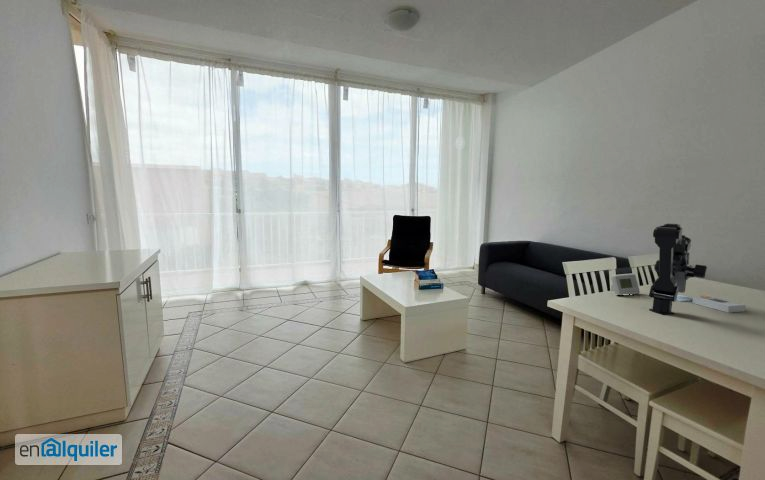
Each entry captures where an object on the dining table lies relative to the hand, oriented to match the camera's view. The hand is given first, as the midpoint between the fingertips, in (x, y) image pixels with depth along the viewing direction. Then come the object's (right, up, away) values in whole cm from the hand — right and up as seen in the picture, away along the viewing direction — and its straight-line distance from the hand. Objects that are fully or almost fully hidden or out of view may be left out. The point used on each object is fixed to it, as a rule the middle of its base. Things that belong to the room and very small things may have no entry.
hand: (680, 278), depth 164 cm
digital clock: (-24, -10, +7) cm, 26 cm away
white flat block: (+5, -12, -13) cm, 18 cm away
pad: (-1, -10, 0) cm, 10 cm away
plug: (-1, -7, 0) cm, 7 cm away
